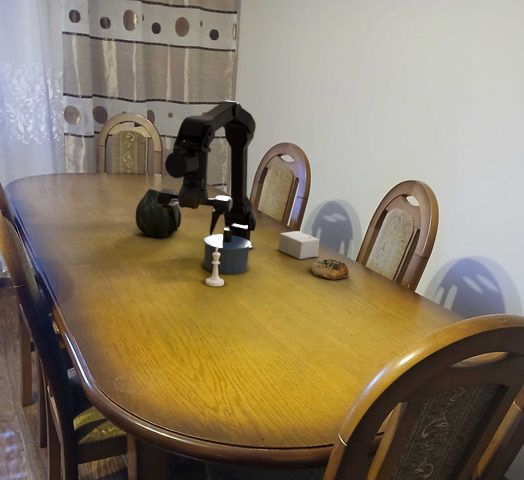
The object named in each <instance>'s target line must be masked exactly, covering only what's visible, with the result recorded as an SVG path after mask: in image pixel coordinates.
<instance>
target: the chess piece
mask: <svg viewBox="0 0 524 480" xmlns="http://www.w3.org/2000/svg"><path fill="white" fill-rule="evenodd" d="M219 257H220V253H218V246H216V252H214V253H213V258H214V261H212V264H214V268H213V272H212V274H211V275H210V277H207V278H206V279H205V284H206V285H208V286H210V287H222V286H224V285H225V280H224V279H223V278H221V277H220V276H219V273H218V264H220V262H219V261H218V259H219Z"/></svg>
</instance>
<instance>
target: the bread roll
mask: <svg viewBox="0 0 524 480" xmlns="http://www.w3.org/2000/svg"><path fill="white" fill-rule="evenodd" d="M310 271H311V272H312V273H313V275H314V276H318V277H322V278H325V279H328V280H332V281H338V280H340V279H345V278H347V277H348V276H349V268H348V266H347V265H346V263H345V262H342V261H341V260H336V259H332V258H331V259H329V258H328V259H326V258H325V259H322V260H316V261H315V262H314V263H312V264H311V269H310Z"/></svg>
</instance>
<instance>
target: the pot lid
mask: <svg viewBox="0 0 524 480" xmlns="http://www.w3.org/2000/svg"><path fill="white" fill-rule="evenodd" d="M251 243H252V242H251V240H250V241H248V240H247V239H245V238H242V237H238V236H233V235H232V229H231V228H229V227H224V228H223V234H212V236H210V235H207V236H205V237H204V238H203V244H204V245H205V244H206V245H207V246H209V247H212V248H216V246H218V249H221V250H243V249H247V248H249V247H250V246H252V244H251Z"/></svg>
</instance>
